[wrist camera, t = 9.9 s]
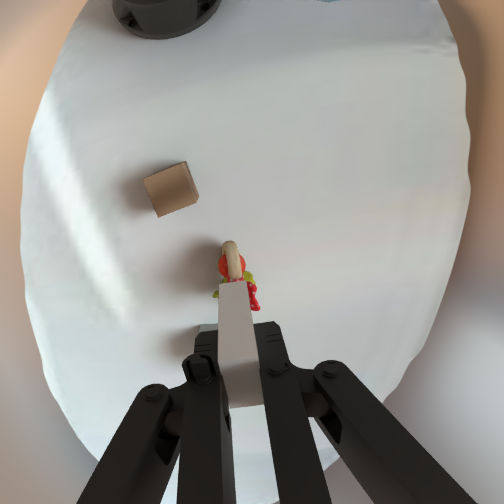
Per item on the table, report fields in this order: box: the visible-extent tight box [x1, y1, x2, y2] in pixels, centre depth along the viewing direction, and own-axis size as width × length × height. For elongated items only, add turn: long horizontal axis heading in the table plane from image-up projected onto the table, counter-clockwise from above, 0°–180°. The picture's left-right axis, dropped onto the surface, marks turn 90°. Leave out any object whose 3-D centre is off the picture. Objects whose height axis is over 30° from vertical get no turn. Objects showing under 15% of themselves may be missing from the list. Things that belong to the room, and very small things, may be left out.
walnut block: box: [143, 161, 199, 218], centre depth 38 cm, size 5×5×5 cm
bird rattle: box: [213, 241, 260, 311], centre depth 40 cm, size 6×11×9 cm
